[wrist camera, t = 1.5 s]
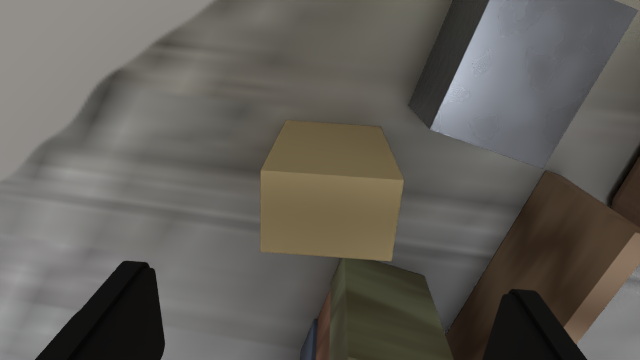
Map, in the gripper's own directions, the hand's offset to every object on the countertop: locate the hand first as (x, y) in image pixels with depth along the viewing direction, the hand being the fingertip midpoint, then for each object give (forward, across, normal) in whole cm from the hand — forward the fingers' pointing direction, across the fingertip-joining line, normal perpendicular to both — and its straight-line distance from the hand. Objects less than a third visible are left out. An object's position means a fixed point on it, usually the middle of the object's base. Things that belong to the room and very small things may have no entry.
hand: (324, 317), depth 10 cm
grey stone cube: (+16, -8, -6) cm, 19 cm away
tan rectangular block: (+16, 0, +1) cm, 16 cm away
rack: (+15, -7, +10) cm, 20 cm away
